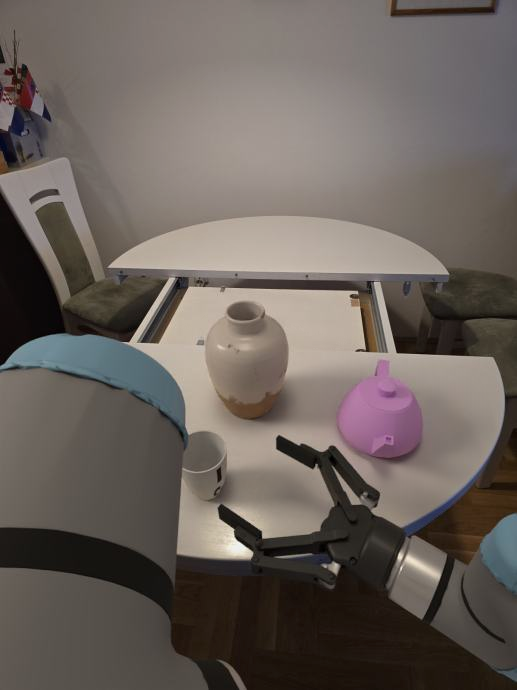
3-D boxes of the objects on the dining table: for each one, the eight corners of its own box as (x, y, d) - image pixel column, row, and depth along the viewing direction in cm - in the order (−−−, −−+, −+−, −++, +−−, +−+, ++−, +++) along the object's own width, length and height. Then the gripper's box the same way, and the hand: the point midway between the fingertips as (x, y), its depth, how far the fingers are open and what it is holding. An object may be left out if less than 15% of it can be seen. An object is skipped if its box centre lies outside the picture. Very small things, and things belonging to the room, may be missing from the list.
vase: (282, 435, 77) (285, 341, 63) (203, 426, 80) (188, 333, 66) (290, 379, 90) (293, 290, 76) (221, 373, 92) (212, 285, 78)
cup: (224, 512, 65) (219, 476, 59) (177, 505, 66) (167, 469, 60) (235, 469, 72) (231, 432, 66) (191, 464, 73) (183, 427, 67)
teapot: (338, 386, 88) (344, 342, 80) (412, 394, 85) (426, 350, 78) (333, 472, 71) (340, 426, 63) (426, 486, 68) (445, 440, 61)
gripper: (346, 683, 42) (194, 561, 52) (424, 499, 57) (296, 433, 67) (354, 660, 37) (186, 531, 47) (436, 468, 53) (297, 402, 63)
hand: (250, 473), depth 57 cm, fingers open, 13 cm apart
